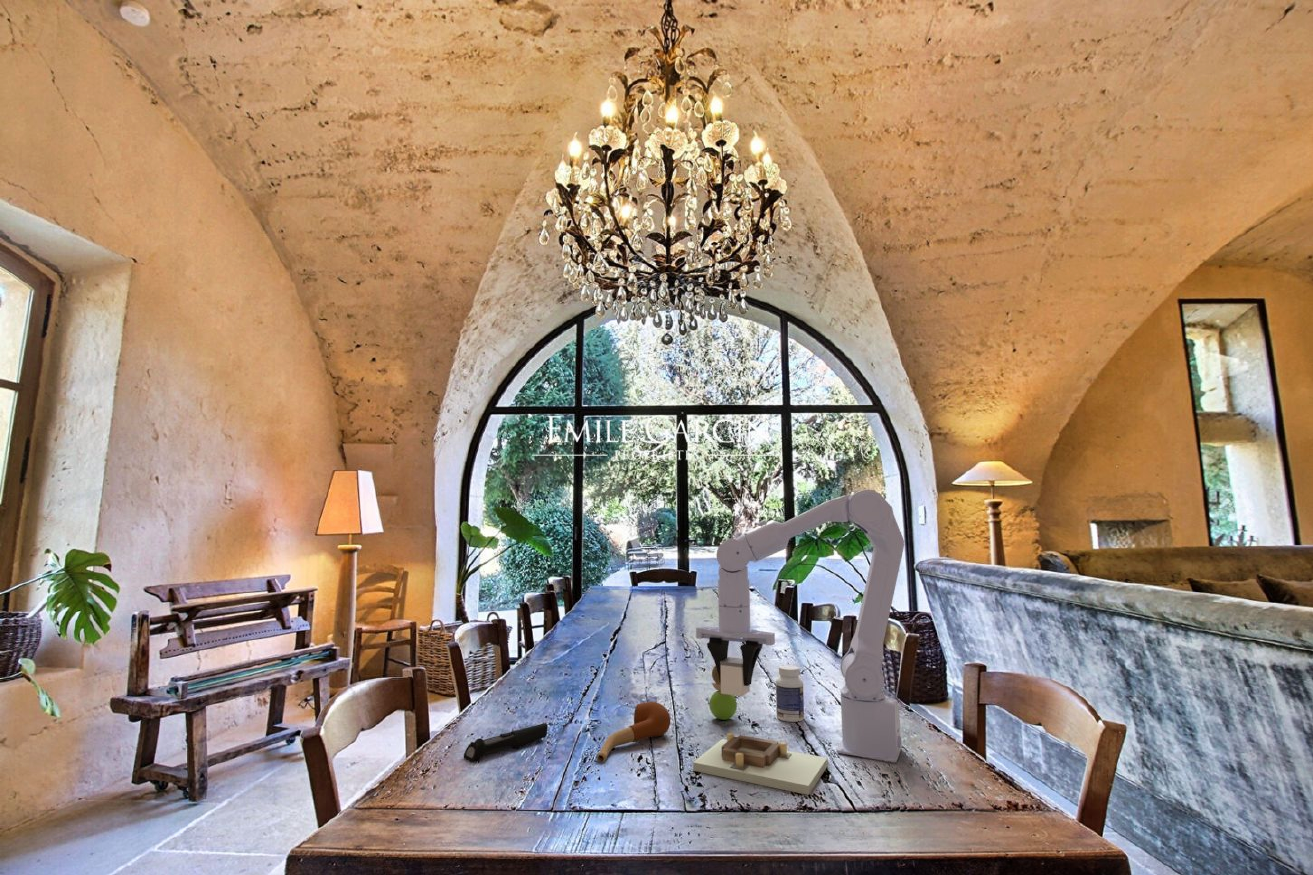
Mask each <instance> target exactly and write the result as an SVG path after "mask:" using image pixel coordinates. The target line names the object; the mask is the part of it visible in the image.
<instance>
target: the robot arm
mask: <svg viewBox="0 0 1313 875" xmlns="http://www.w3.org/2000/svg"><path fill="white" fill-rule="evenodd" d="M830 522H831V523H832V522H834V523H835V522H837V523H838V522H839V523H846V522H847V523H848V522H850V523H851V524H853V525H854V526H856V527H857V528H858V529H859V530H861V531H862V532H863V534H864V536H866V538H867V540H868V541H869V542H870V544H871V545H872V546H873V549H872V554H871V559H870V565H869V568H868V572H867V577H866V581H865V586H864V590H863V594H862V595H863V596H862V600H861V605H860V608H859V614H858V618H857V623H856V627H855V632H854V634H853V637H852V639H851V641H850V646H849V648H848V651H847V652H846V653H845V654H844V656H842V658H841V661H840V672H841V675H842V677H843V678H844V685H843V687H842V688H840V709H841V711H840V713H841V735H842V736H841V737H842V739H841V740H842V741H841V742H840V743H839V745H838V746H837V748H836V750H835V751H836V753H838V754H843V755H850V756H855V757H861V758H867V759H872V760H878V761H882V760H884V762H888V761H891V763H897V761H898V759H899V756H900V754H901V751H902V749H901V748H903V747H902V735H901V718H900V717H901V716H900V706H899V701H898V700H897V699H894V698H888V697H887V696H885V692H884V686H885V676H884V673H883V667H882V666H883V661H884V640H885V637H886V633H887V632H886V631H887V627H888V623H889V618H890V613H891V608H892V604H893V600H894V595H895V590H896V585H897V581H898V576H899V572H900V567H901V562H902V557H903V553H904V548H905V540H904V538H903V534H902V532H901V529H900V528H899V527H900V526H899V525H898V521H897V520H896V517H895V514H894V510H893V506H892V505H890V503H889V502H888V501H887V500H886V499H885V498H884V496H883V495H881V493H879V491H876V490H873V489H869V488H867V489H861V490H858V491H856V492H855V493H853V494H847V495H843V496H839V497H836V498H831V499H829V500H826V501H825V502H822V503H821V504H818V505H817V506H814V507H813V508H811V509H808V510H807V511H805V512H802V513H801V514H798V515H796V516H794V517H792V518H790V519H788V520H787V521H785V522H780V521H776V520H774V519H771V520H769V521H767V520H766V519H763V520H761V521H759V522H758V523H759V524H758V526H755V527H753V528H752V529H749V530H747V531H744V532H743V533H742V532H741V531H739V532H737V533H735V536H736V538H737V539H736V538H727V539H726V540H725V541H723V542H722V543H720V545H719V546H718V548H717V550H716V561H717V563H718V564H719V567H718V578H719V579H718V580H717V582H718V583H717V584H718V585H717V586H718V587H717V588H718V589H717V591H718V592H717V594H718V596H717V598H718V626H703V625H702V626H698V627H696V629H695V632H696V633H695V637H696V638H695V639H699V640H702V639H707V640H709V641H708V642H707V643H706V646H707V650H708V651H709V653H710V655H711V657H712V660H713V661H714V664H715V665H714V666H716V668H717V672H718V676H719V681H720V683H721V665H720V661H722V660H724V659H726V658H728V654H729V644H730V642H740V643H744V644H742V645H740V652H741V656H742V657H741V659H743V681H744V686H749V685H750V686H751V685H752V681H753V680H752V679H753V673H754V669H755V667H756V663H757V661H758V658H759V655H760V653H761V651H762V649H763V647H764V646H763V645H766V646H774V645H775V644H776V637H775V636H776V634H775V632H771V631H763V630H757V629H752V628H751V606H750V603H751V602H750V601H751V598H750V595H751V594H750V579H749V572H748V571H749V569H748V568H749V567H748V564H749V562H754V563H757V562H759V561H762V560H764V559H766V558H768V557H770V556H772V555H775V554H777V553H779V552H781V551H784V550H785V549H787V547H788V543H789V541H790V539H791V538H794V537H797V536H799V535H801V534H803V533H805V532H808V531H810V530H813V529H814V528H815V529H816V528H817V527H819V526H821V525H824V524H828V523H830ZM899 753H900V754H899Z"/></svg>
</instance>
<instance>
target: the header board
mask: <svg viewBox="0 0 1313 875" xmlns="http://www.w3.org/2000/svg"><path fill="white" fill-rule="evenodd" d="M733 737H735V734H734V733H731V732H729V733H726V738H725V739H724V738H722V739H720V740H719V741H718V742H717V743H715V744H714V745H713V746H712V747H710V748H709V749H708V750H707V751H705V752H704V753H702V754H701V755H700V756H699V757H698V758H697V759H695V760H694V761H693V762H692V771H694V772H698V773H703V774H708V775H712V776H718V777H723V778H727V779H731V780H736V781H741V782H746V783H749V784H755V785H760V786H765V787H769V788H770V787H771V788H774V789H780V790H784V791H787V792H793V793H798V794H803V795H807V796H808V795H810V794H811V792H812V791H813V789H814V787H815V786H816V785H817V782H818V781H819V780H820V779H821V776H823V774H824V773H825V770H827V767H828V765H829V764H828V762H829V761H828V757H824V756H818V755H814V754H808V753H803V752H797V751H792V750H791V751H790V750H788V744H787V743H786V742H784V741H783V742H778V744H779V756H778V757H777V759H776V760H775V761H774V762H773V763H772V764H771V765H770V766H765V767H764V768H760V767H755V766H750V765H747V764H744V761H743V754H742V753H736V762H730V761H725V760H722V746H723V745H724V744H726V743H727V742H728V741H729V740H730V739H732V738H733ZM738 750H741V751H746V752H752V753H757V754H763V753H764V751H758V750H753V749H747V748H742V747H741V748H740V749H738Z"/></svg>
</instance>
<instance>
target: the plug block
mask: <svg viewBox="0 0 1313 875" xmlns="http://www.w3.org/2000/svg"><path fill="white" fill-rule="evenodd" d="M720 665H721V694H728V695H734V697H735V696H737V697H744V696H745V695H746V694H748V693H749V692H750V691H751V688H750V686H751V684H750V685H749V686H744V681H743V659H742V657H741V658H740V657H731V656H729V657H728V656H727V658H726V659H724V660H722V661H720Z"/></svg>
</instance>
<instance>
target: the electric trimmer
mask: <svg viewBox="0 0 1313 875" xmlns="http://www.w3.org/2000/svg"><path fill="white" fill-rule="evenodd" d="M548 728H549V727H548V723H546V722H545V723H544V722H543V723H540V724H536V725H531V726H528V727H524V728H520V729H516V730H512V731H510V732H505V733H500V735H497V736H493V737H488V738H486V739H485V738H484V739H483V738H477V739H475V741H471V742H470V743H469V744H468V745H467V747H466V749H465V751H464V753H463V759H464V760H466V761H468V762H469V763H474V762H475V763H479V761H480V760H481V759H482V758H486V757H489V756H492V755H495V754H499V753H501V752H505V751H508V750H510V749H513V750H518V749H520V748H523V747H526V746H527V745H530V744H532V743H535V742H537V741H540V740H541V739H544V738H546V737H547V735H548Z"/></svg>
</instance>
